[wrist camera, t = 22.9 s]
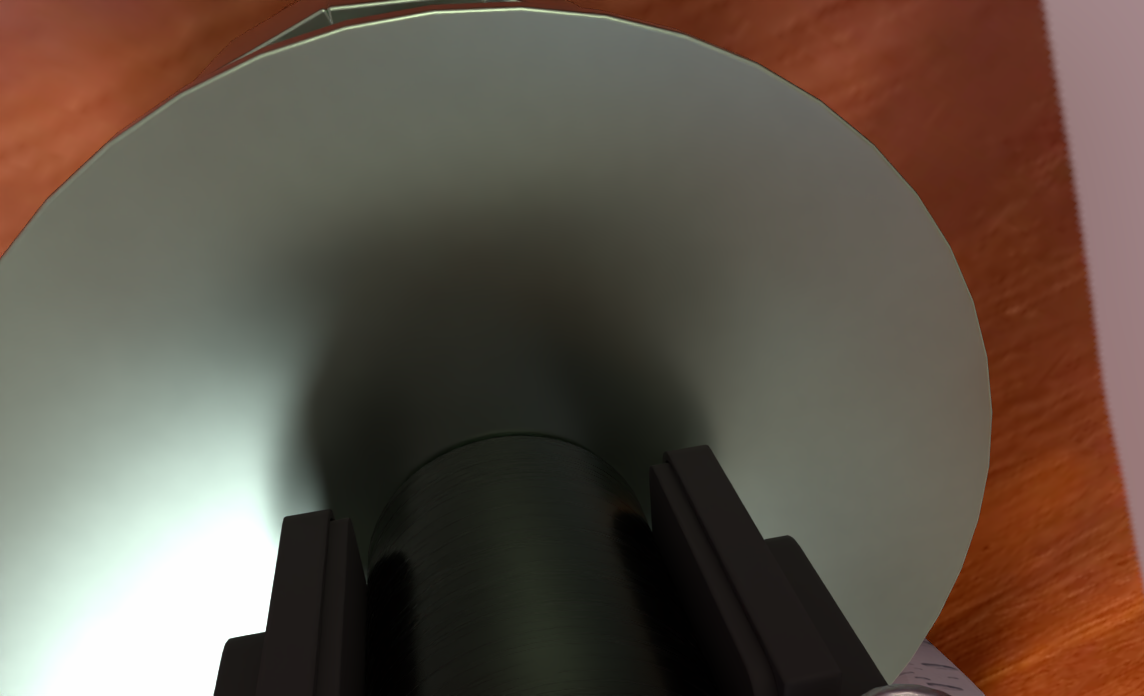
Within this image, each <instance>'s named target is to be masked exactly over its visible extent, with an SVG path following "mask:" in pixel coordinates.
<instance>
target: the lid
mask: <svg viewBox="0 0 1144 696" xmlns="http://www.w3.org/2000/svg"><path fill="white" fill-rule="evenodd" d="M991 425H992V404H991V393H990V382H989V371H988V360H987V354H986V350H985V346H984V342H983V338H982V334H981V330H980V326H979V322H978V318H977V314H976V310H975V306H974V302H973V299H972V297H971V294H970V292H969V289H968V287H967V285H966V282H965V280H964V278H963V275H962V273H961V271H960V268H959V266H958V264H957V261H956V259H955V257H954V254H953V252H952V249H951V247H950V245H949V243H948V242H947V240H946V239H945V237H944V235H943V234H942V232H941V231H940V229H939V228H938V226H937V224H936V223H935V221H934V220H933V218H932V216H931V215H930V213H929V212H928V210H927V208H926V207H925V205H924V204H923V202H922V201H921V199H920V197H919V196H918V194H917V193H916V192H915V190H914V189H913V188H912V187H911V186H910V185H909V184H908V183H907V181H906V180H905V179H904V178H903V177H902V176H901V175H900V173H899V172H898V171H897V170H896V169H895V168H894V167H893V165H892V164H891V163H890V162H889V161H888V160H887V159H886V158H885V156H884V155H883V154H882V153H881V152H880V151H879V150H878V148H877V147H876V146H875V145H874V144H873V143H872V142H871V141H869V140H868V139H867V138H866V137H864V136H863V135H862V134H861V133H860V132H858V131H857V130H856V129H855V128H854V127H852V126H851V125H850V124H849V123H848V122H846V121H845V120H844V119H843V118H841V117H840V116H839V115H838V114H837V113H835V112H834V111H833V110H832V109H831V108H829V107H828V106H827V105H826V104H825V103H823V102H822V101H821V100H819V99H818V98H816V97H814V96H813V95H811V94H809V93H808V92H806V91H804V90H803V89H801V88H799V87H798V86H796V85H794V84H793V83H791V82H789V81H788V80H786V79H784V78H782V77H781V76H779V75H777V74H776V73H774V72H772V71H771V70H769V69H767V68H766V67H764V66H762V65H761V64H759V63H757V62H755V61H753V60H751V59H748V58H746V57H744V56H742V55H739V54H737V53H734V52H732V51H729V50H727V49H724V48H722V47H719V46H717V45H714V44H712V43H710V42H707V41H705V40H702V39H700V38H697V37H695V36H692V35H690V34H687V33H685V32H682V31H680V30H678V29H675V28H671V27H667V26H663V25H659V24H655V23H651V22H646V21H642V20H638V19H634V18H630V17H626V16H622V15H618V14H614V13H610V12H606V11H602V10H597V9H587V8H577V7H567V6H557V5H547V4H537V3H526V2H516V1H515V2H490V3H465V4H440V5H428V6H422V7H416V8H411V9H405V10H400V11H394V12H389V13H383V14H378V15H372V16H366V17H361V18H355V19H350V20H345V21H342V22H339V23H336V24H333V25H330V26H327V27H324V28H321V29H318V30H315V31H311V32H308V33H305V34H302V35H299V36H296V37H293V38H290V39H287V40H284V41H281V42H278V43H275V44H272V45H269V46H266V47H263V48H261V49H259V50H257V51H255V52H253V53H251V54H249V55H247V56H245V57H243V58H241V59H239V60H237V61H234V62H232V63H230V64H228V65H226V66H224V67H222V68H220V69H218V70H216V71H214V72H212V73H210V74H208V75H206V76H204V77H202V78H200V79H198V80H196V81H194V82H192V83H190V84H188V85H186V86H184V87H183V88H182V89H180V90H179V91H177V92H176V93H174V94H173V95H171V96H170V97H168V98H167V99H166V100H164V101H163V102H161V103H160V104H158V105H157V106H155V107H154V108H152V109H151V110H150V111H148V112H147V113H145V114H144V115H142V116H141V117H139V118H138V119H136V120H135V121H134V122H132V123H131V124H129V125H128V126H126V127H125V128H123V129H122V130H120V131H119V132H118V133H116V134H115V135H114V136H113V137H112V138H111V139H110V140H109V141H108V142H107V143H105V144H104V145H103V146H102V147H101V148H100V149H99V150H98V151H97V152H96V153H95V154H94V155H93V156H92V157H90V158H89V159H88V160H87V161H86V162H85V163H84V164H83V165H82V166H81V167H80V168H79V169H78V170H77V171H76V172H74V173H73V174H72V175H71V176H70V177H69V178H68V179H67V180H66V181H65V182H64V183H63V184H62V185H61V186H60V187H58V188H57V189H56V190H55V191H54V192H53V193H52V194H51V195H50V196H49V197H48V198H47V199H46V200H45V201H44V203H43V204H42V205H41V206H40V208H39V209H38V210H37V211H36V213H35V214H34V215H33V217H32V218H31V219H30V220H29V222H28V223H27V224H26V226H25V227H24V228H23V229H22V231H21V232H20V233H19V235H18V236H17V237H16V238H15V240H14V241H13V242H12V244H11V245H10V246H9V247H8V249H7V250H6V251H5V253H4V254H3V255H2V256H1V258H0V696H213V693H214V689H215V684H216V679H217V674H218V670H219V665H220V660H221V655H222V651H223V648H224V645H225V643H226V641H227V640H228V639H229V638H233V637H238V636H244V635H249V634H255V633H260V632H265V630H266V624H267V618H268V611H269V605H270V598H271V592H272V586H273V579H274V573H275V567H276V560H277V554H278V548H279V541H280V535H281V528H282V523H283V519H284V517H286V516H291V515H297V514H302V513H308V512H314V511H320V510H326V509H331V510H332V511H333V514H334V516H335V520H338V519H344V518H351V521H352V523H353V527H354V531H355V536H356V540H357V544H358V549H359V553H360V558H361V562H362V566H363V571H364V575H365V580H366V584H367V621H366V669H365V696H721V694H720V692H719V690H718V687H717V685H716V683H715V680H714V678H713V675H712V673H711V671H710V668H709V666H708V664H707V661H706V659H705V656H704V654H703V652H702V649H701V647H700V645H699V642H698V640H697V637H696V635H695V633H694V630H693V628H692V626H691V623H690V621H689V618H688V616H687V614H686V611H685V609H684V607H683V604H682V602H681V599H680V597H679V595H678V592H677V590H676V588H675V585H674V583H673V580H672V578H671V576H670V573H669V571H668V569H667V566H666V564H665V561H664V559H663V557H662V554H661V552H660V550H659V547H658V545H657V543H656V540H655V538H654V535H653V533H652V519H651V502H650V485H649V467H650V466H651V465H657V464H662V458H663V453H664V452H665V451H671V450H677V449H683V448H688V447H694V446H700V445H708V446H709V447H710V449H711V450H712V452H713V453H714V455H715V457H716V458H717V460H718V462H719V464H720V465H721V467H722V469H723V470H724V472H725V474H726V476H727V477H728V479H729V481H730V482H731V484H732V486H733V487H734V489H735V491H736V493H737V494H738V496H739V498H740V499H741V501H742V503H743V504H744V506H745V508H746V510H747V511H748V513H749V515H750V516H751V518H752V520H753V521H754V523H755V525H756V527H757V528H758V530H759V532H760V533H761V535H762V537H763V539H769V538H774V537H780V536H785V535H789V536H791V537H793V538H794V539H795V540H796V542H797V543H798V544H799V545H800V547H801V548H802V550H803V551H804V553H805V555H806V556H807V558H808V559H809V561H810V562H811V564H812V566H813V567H814V569H815V570H816V572H817V573H818V575H819V577H820V578H821V580H822V581H823V583H824V584H825V586H826V588H827V589H828V591H829V592H830V594H831V595H832V597H833V599H834V600H835V602H836V603H837V605H838V606H839V608H840V610H841V611H842V613H843V614H844V616H845V617H846V619H847V621H848V622H849V624H850V625H851V627H852V628H853V630H854V632H855V633H856V635H857V636H858V638H859V639H860V641H861V643H862V644H863V646H864V647H865V649H866V651H867V652H868V654H869V655H870V657H871V658H872V660H873V662H874V663H875V665H876V666H877V668H878V669H879V671H880V673H881V674H882V676H883V677H884V679H885V680H886V682H887V684H888V685H891V684H892V683H893V682H894V681H895V679H896V678H897V677H898V676H899V674H900V673H901V672H902V671H903V669H904V668H905V667H906V666H907V664H908V663H909V662H910V661H911V659H912V657H913V656H914V654H915V653H916V651H917V650H918V648H919V646H920V645H921V643H922V642H923V640H924V639H925V637H926V635H927V634H928V632H929V631H930V629H931V627H932V626H933V624H934V623H935V621H936V620H937V618H938V616H939V615H940V612H941V610H942V608H943V606H944V604H945V602H946V600H947V598H948V596H949V594H950V592H951V590H952V588H953V586H954V583H955V581H956V579H957V577H958V575H959V573H960V571H961V569H962V566H963V563H964V560H965V557H966V554H967V552H968V549H969V546H970V543H971V540H972V537H973V534H974V531H975V528H976V525H977V522H978V519H979V515H980V510H981V505H982V500H983V494H984V489H985V484H986V479H987V474H988V469H989V460H990V442H991Z"/></svg>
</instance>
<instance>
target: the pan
mask: <svg viewBox="0 0 1144 696" xmlns="http://www.w3.org/2000/svg"><path fill="white" fill-rule="evenodd" d="M515 1H516V2H526V3H537V4H547V5H557V6H567V7H577V8H581V7H579V6H577V5H575V4H574V3H572V2H569V1H566V0H300V1H298V2H297V3H295V4H293V5H291V6H289V7H287V8H285V9H283V10H282V11H280V12H279V13H277V14H276V15H274V16H273V17H271V18H269V19H268V20H266V21H264V22H262V23H261V24H259V25H257V26H256V27H254V28H252V29H251V30H249V31H247V32H245V33H244V34H242V35H240V36H239V37H237V38H235V39H234V40H232V41H231V42H230V43H229V44H228V45H227V46H226V47H225V48H224V49H223V50H222V51H221V52H220V53H219V55H218V56H217V57H216V58H215V59H214V60H213V61H212V62H211V63H210V64H209V65H208V66H207V67H206V68H205V69H204V71H203V72H202V73H201V74H200V75H199V76H198V77H197V78H196V79H195V80H194V81H196V80H198V79H200V78H202V77H204V76H206V75H208V74H210V73H212V72H214V71H216V70H218V69H220V68H222V67H224V66H226V65H228V64H230V63H232V62H234V61H237V60H239V59H241V58H243V57H245V56H247V55H249V54H251V53H253V52H255V51H257V50H259V49H261V48H263V47H266V46H269V45H272V44H275V43H278V42H281V41H284V40H287V39H290V38H293V37H296V36H299V35H302V34H305V33H308V32H311V31H315V30H318V29H321V28H324V27H327V26H330V25H333V24H336V23H339V22H342V21H345V20H350V19H355V18H361V17H366V16H372V15H378V14H383V13H389V12H394V11H400V10H405V9H411V8H416V7H422V6H428V5H440V4H465V3H490V2H515ZM194 81H193V82H194Z"/></svg>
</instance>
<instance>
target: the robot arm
mask: <svg viewBox="0 0 1144 696" xmlns="http://www.w3.org/2000/svg"><path fill="white" fill-rule="evenodd" d="M649 485H650V502H651V519H652V533H653V535H654V538H655V540H656V543H657V545H658V547H659V550H660V552H661V554H662V557H663V559H664V561H665V564H666V566H667V569H668V571H669V573H670V576H671V578H672V580H673V583H674V585H675V588H676V590H677V592H678V595H679V597H680V599H681V602H682V604H683V607H684V609H685V611H686V614H687V616H688V618H689V621H690V623H691V626H692V628H693V630H694V633H695V635H696V637H697V640H698V642H699V645H700V647H701V649H702V652H703V654H704V656H705V659H706V661H707V664H708V666H709V668H710V671H711V673H712V675H713V678H714V680H715V683H716V685H717V687H718V690H719V692H720V694H721V696H951V695H949V694H947V693H945V692H943V691H941V690H937V689H933V688H929V687H926V686H922V685H915V684H892V685H888V684H887V682H886V680H885V679H884V677H883V676H882V674H881V673H880V671H879V669H878V668H877V666H876V665H875V663H874V662H873V660H872V658H871V657H870V655H869V654H868V652H867V651H866V649H865V647H864V646H863V644H862V643H861V641H860V639H859V638H858V636H857V635H856V633H855V632H854V630H853V628H852V627H851V625H850V624H849V622H848V621H847V619H846V617H845V616H844V614H843V613H842V611H841V610H840V608H839V606H838V605H837V603H836V602H835V600H834V599H833V597H832V595H831V594H830V592H829V591H828V589H827V588H826V586H825V584H824V583H823V581H822V580H821V578H820V577H819V575H818V573H817V572H816V570H815V569H814V567H813V566H812V564H811V562H810V561H809V559H808V558H807V556H806V555H805V553H804V551H803V550H802V548H801V547H800V545H799V544H798V543H797V542H796V540H795V539H794V538H793V537H791V536H789V535H785V536H780V537H774V538H769V539H763V537H762V535H761V533H760V532H759V530H758V528H757V527H756V525H755V523H754V521H753V520H752V518H751V516H750V515H749V513H748V511H747V510H746V508H745V506H744V504H743V503H742V501H741V499H740V498H739V496H738V494H737V493H736V491H735V489H734V487H733V486H732V484H731V482H730V481H729V479H728V477H727V476H726V474H725V472H724V470H723V469H722V467H721V465H720V464H719V462H718V460H717V458H716V457H715V455H714V453H713V452H712V450H711V449H710V447H709V446H708V445H700V446H694V447H688V448H683V449H677V450H671V451H665V452H664V453H663V458H662V464H657V465H651V466H650V467H649ZM366 621H367V584H366V580H365V575H364V571H363V566H362V562H361V558H360V553H359V549H358V544H357V540H356V536H355V531H354V527H353V523H352V521H351V518H344V519H338V520H335V516H334V514H333V511H332V510H331V509H326V510H320V511H314V512H308V513H302V514H297V515H291V516H286V517H284V519H283V523H282V528H281V535H280V541H279V548H278V554H277V560H276V567H275V573H274V579H273V586H272V592H271V598H270V605H269V611H268V618H267V624H266V630H265V632H260V633H255V634H249V635H244V636H238V637H233V638H229V639H228V640H227V641H226V643H225V645H224V648H223V651H222V655H221V660H220V665H219V670H218V674H217V679H216V684H215V689H214V693H213V696H365V669H366Z"/></svg>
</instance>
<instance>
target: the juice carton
mask: <svg viewBox="0 0 1144 696" xmlns="http://www.w3.org/2000/svg"><path fill="white" fill-rule="evenodd" d="M892 684H915V685H922V686H926V687H929V688H933V689H937V690H941V691H943V692H945V693H947V694H949V695H951V696H985V695H984V693H983V692H982V691H981V690H980V689H979V688H978V687H977V686H976V685H975V684H974V683H973V682H972V681H971V680H970V679H969V678H968V677H967V676H966V675H965V674H964V673H962V672H961V671H960V670H959V669H958V668H957V667H956V666H955V665H954V664H953V663H952V662H951V661H950V660H949V659H948V658H946V657H945V656H944V655H943V654H942V653H941V652H940V651H939V650H938V649H937V648H936V647H935V646H933V645H932V644H931V643H930V642H929V641H928V640H927V639H926V638H925V639H924V640H923V642H922V643H921V645H920V646H919V648H918V650H917V651H916V653H915V654H914V656H913V657H912V659H911V661H910V662H909V663H908V664H907V666H906V667H905V668H904V669H903V671H902V672H901V673H900V674H899V676H898V677H897V678H896V679H895V681H894V682H893V683H892ZM892 684H891V685H892Z"/></svg>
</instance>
